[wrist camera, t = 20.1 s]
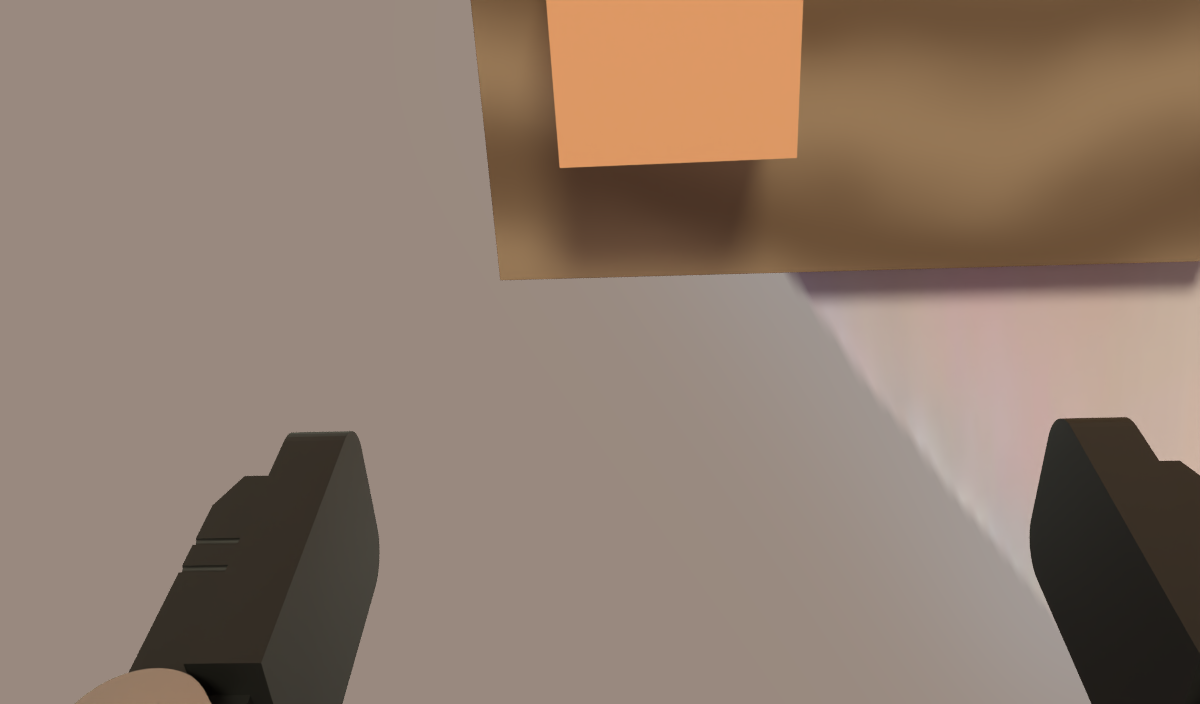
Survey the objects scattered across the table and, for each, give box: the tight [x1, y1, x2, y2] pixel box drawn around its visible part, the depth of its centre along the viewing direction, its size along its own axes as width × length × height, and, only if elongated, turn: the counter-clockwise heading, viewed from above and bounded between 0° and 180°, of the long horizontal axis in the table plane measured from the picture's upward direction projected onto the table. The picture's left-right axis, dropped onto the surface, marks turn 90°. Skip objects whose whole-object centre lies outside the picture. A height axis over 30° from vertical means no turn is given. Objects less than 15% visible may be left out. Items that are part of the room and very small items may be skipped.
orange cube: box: [546, 0, 803, 168], centre depth 29 cm, size 6×6×6 cm
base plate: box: [471, 0, 1200, 280], centre depth 30 cm, size 18×24×6 cm
